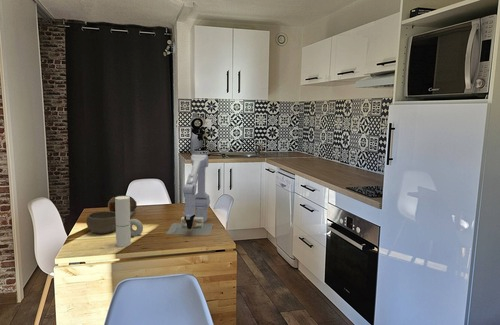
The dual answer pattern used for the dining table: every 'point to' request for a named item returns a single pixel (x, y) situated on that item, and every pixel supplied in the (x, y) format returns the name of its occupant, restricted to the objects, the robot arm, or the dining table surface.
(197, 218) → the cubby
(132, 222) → the donut
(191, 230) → the rake
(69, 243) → the dining table surface
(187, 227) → the robot arm
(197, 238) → the dining table surface
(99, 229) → the bowl
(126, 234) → the cylindrical container
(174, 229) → the metal bar
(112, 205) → the clay pot
